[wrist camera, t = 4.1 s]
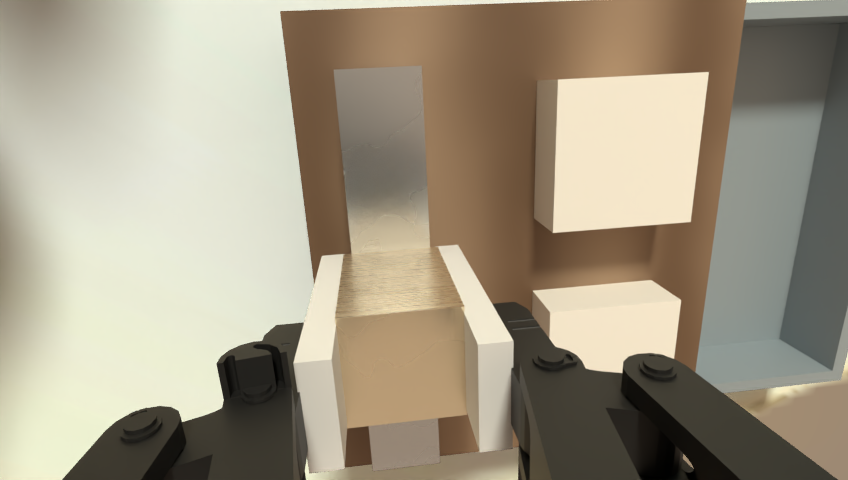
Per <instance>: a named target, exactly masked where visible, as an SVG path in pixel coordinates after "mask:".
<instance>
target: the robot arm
mask: <svg viewBox="0 0 848 480" xmlns="http://www.w3.org/2000/svg"><path fill="white" fill-rule="evenodd" d="M436 247H438V248H439V251H440V253H441V255H442V257H443V260H444V262H445V264H446V266H447V269H448V271H449V273H450V275H451V277H452V280H453V282H454V284H455V286H456V289H457V291H458V293H459V295H460V298H461V300H462V302H463V304H464V306H465V312H464V335H465V375H466V410H467V413H468V417H469V420H470V423H471V426H472V430H473V433H474V436H475V439H476V443H477V446H478V449H479V452H480V453H481V452H489V451H497V450H505V449H513V430H514V432H515V434H516V437H517V439H518V441H519V467H518V480H837V479H836V478H835V477H833V476H832V475H830V474H829V473H828V472H827V471H825V470H824V469H823V468H821V467H820V466H819V465H817V464H816V463H815V462H814V461H812V460H811V459H810V458H808V457H807V456H806V455H804V454H803V453H801V452H800V451H799V450H798V449H796V448H795V447H794V446H792V445H791V444H790V443H788V442H787V441H786V440H784V439H783V438H782V437H780V436H779V435H778V434H776V433H775V432H774V431H772V430H771V429H770V428H768V427H767V426H766V425H764V424H763V423H762V422H760V421H759V420H758V419H756V418H755V417H754V416H752V415H751V414H750V413H749V412H747V411H746V410H745V409H743V408H742V407H741V406H739V405H738V404H737V403H735V402H734V401H733V400H731V399H730V398H729V397H727V396H726V395H725V394H723V393H722V392H721V391H719V390H718V389H717V388H715V387H714V386H713V385H711V384H710V383H709V382H707V381H706V380H705V379H703V378H702V377H701V376H699V375H698V374H697V373H695V372H694V371H693V370H691V369H690V368H689V367H688V366H686V365H685V364H683V363H681V362H679V361H677V360H676V359H673V358H670V357H667V356H665V355H662V354H655V353H643V354H635V355H632V356H629V357H628V358H626V359H625V360H624V361H623V371H622V373H616V372H604V371H596V370H589V369H586V368H585V366H584V364H583V362H582V361H581V359H580V358H579V357H578V356H577V355H576V354H574V353H572V352H570V351H568V350H565V349H562V348H558V347H555V346H554V344H553V343H552V341H551V340H550V339H549V337H548V336H547V335H546V333H545V332H544V330H543V329H542V328H541V327H540V325H539V324H538V322H537V321H536V320H535V319H534V317H533V315H532V314H531V313H530V311H529V310H528V309H527V308H525V307H524V306H522V305H520V304H518V303H516V302H505V303H495V304H492V303H491V301H490V299H489V298H488V296H487V294H486V293H485V291H484V289H483V287H482V286H481V284H480V282H479V280H478V279H477V277H476V275H475V274H474V272H473V270H472V268H471V267H470V265H469V263H468V261H467V260H466V258H465V256H464V255H463V253H462V251H461V249H460V248H459V246H458V245H448V246H436ZM343 255H344V254H337V255H325V256H322V257H321V261H320V265H319V268H318V272H317V276H316V280H315V283H314V287H313V291H312V295H311V298H310V302H309V306H308V310H307V314H306V317H305V321H304V323H295V324H284V325H276V326H275V327H274V328H273V329H271V330H270V331H269V332H268V333H267V334H266V335H265V336H264V338H263V341H258V342H251V343H247V344H243V345H240V346H238V347H236V348H233V349H231V350H229V351H228V352H227V353H225V354H224V355H223V356H221V357H220V359H219V361H218V362H217V368H218V373H219V378H220V383H221V388H222V393H223V398H224V402H223V407H222V409H220V410H218V411H216V412H213V413H210V414H208V415H205V416H202V417H198V418H195V419H192V420H188V421H185V422H182V421H181V417H180V414H179V411H177V410H175V409H173V408H172V407H163V406H157V407H151V408H144V409H141V410H139V411H135V412H133V413H130V414H129V415H127V416H125V417H124V418H122V419H120V420H118V421H116V422H115V423H114V424H113V425H112V426H111V427H109V428H108V429H107V430H106V431H105V432H104V433H103V434H102V435H101V437H100V438H99V439H98V440H97V441H96V442H95V443H94V444H93V446H92V447H91V448H90V449H89V450H88V451H87V452H86V453H85V455H84V456H83V457H82V458H81V459H80V460H79V461H78V463H77V464H76V465H75V466H74V467H73V468H72V469H71V470H70V472H69V473H68V474H67V475H66V476H65V477H64V478H63V479H62V480H306V477H305V465H306V458H307V460H308V467H309V473H316V472H325V471H333V470H341V469H345V455H346V438H347V416H346V407H345V398H344V390H343V381H342V372H341V363H340V354H339V346H338V337H337V328H336V324H335V313H336V306H337V299H338V291H339V284H340V277H341V270H342V263H343ZM683 454H684V455H685V456H686V457H687V458H688V459H689V461H690V462H691V464H692V465H693V468H694V469H693V468H692V467H690V466H689V465H688V464H687V463H686V462H685V461H684V460H683Z"/></svg>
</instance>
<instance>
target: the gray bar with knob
mask: <svg viewBox="0 0 848 480" xmlns="http://www.w3.org/2000/svg"><path fill="white" fill-rule="evenodd" d="M334 80H335V90H336V100H337V110H338V120H339V131H340V141H341V151H342V161H343V171H344V182H345V192H346V202H347V212H348V222H349V232H350V243H351V253H352V254H344V255H343V263H342V270H341V277H340V284H339V291H338V299H337V306H336V313H335V324H336V328H337V337H338V346H339V354H340V363H341V372H342V381H343V390H344V398H345V407H346V416H347V428H356V427H365V426H369V436H370V446H371V456H372V467H373V471H379V470H387V469H395V468H403V467H411V466H419V465H428V464H436V463H440V452H439V430H438V418H444V417H453V416H462V415H467V410H466V375H465V335H464V312H465V306H464V304H463V302H462V300H461V298H460V295H459V293H458V291H457V289H456V286H455V284H454V282H453V280H452V277H451V275H450V273H449V271H448V269H447V266H446V264H445V262H444V260H443V257H442V255H441V253H440V251H439V248H438V247H430V235H429V214H428V192H427V171H426V149H425V127H424V106H423V84H422V66H401V67H380V68H358V69H337V70H334Z"/></svg>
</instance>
